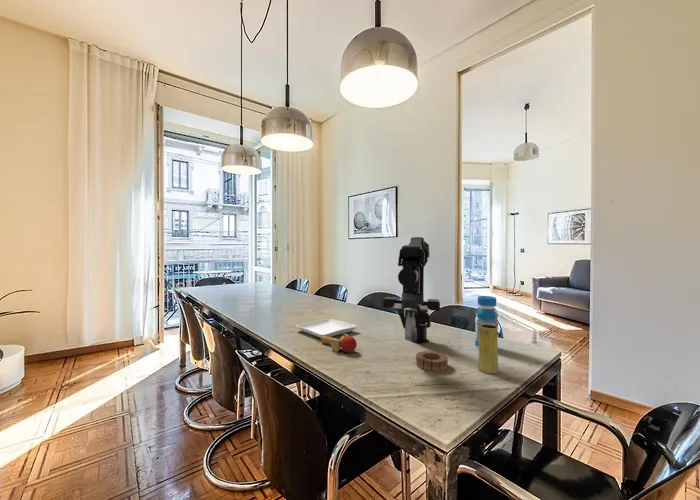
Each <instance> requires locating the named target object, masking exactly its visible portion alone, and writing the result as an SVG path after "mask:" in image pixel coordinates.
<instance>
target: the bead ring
mask: <svg viewBox="0 0 700 500" xmlns="http://www.w3.org/2000/svg"><path fill="white" fill-rule="evenodd" d="M448 360H449V359H448V356H447V355H446V354H443V353H441V352H438V351H433V350H432V351H431V350H428V351H427V350H424V351H423V350H422V351H418V352H417V353H416V354H415V366H417V368H419V369H421V370H424V371H428V372H443V371H446V370H447V369H448V367H449V365H448Z"/></svg>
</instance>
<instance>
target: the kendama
mask: <svg viewBox="0 0 700 500" xmlns="http://www.w3.org/2000/svg"><path fill="white" fill-rule="evenodd" d="M320 343H322V344H330V348H331V349H332V350H333V351H334V352H339V351H340V350H341V349H342V351H343V352H345V353H346V354H347V353H353V352H354V351H355V350H356V349H357V344H358V343H357V340H356V339H355V337H353V336H351V335H349V334H348V333H345V334H341V337H340V338H339V339H338V338H334V337H327V336H322V337H321V338H320Z"/></svg>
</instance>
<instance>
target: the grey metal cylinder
mask: <svg viewBox="0 0 700 500" xmlns="http://www.w3.org/2000/svg"><path fill="white" fill-rule="evenodd" d="M404 314H405V328H404V340H406V341H408V342H413V341H416V340H417V310H416V309H410V308H406V309H404Z"/></svg>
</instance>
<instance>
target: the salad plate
mask: <svg viewBox="0 0 700 500" xmlns="http://www.w3.org/2000/svg"><path fill="white" fill-rule="evenodd" d="M358 326H359V325H357V324H353V323H350V322H347V321H346V322H345V321H341V320H338V319H335V318H334V319H333V318H331V317H330V318H325V319H319V320H313V321H309V322H304V323H299V324H297V325H295V327H296V329H298V330H299V331H301V332H304V333H306V334H309V335H312V336H315V337H317V338H320V339H321V337H322V336H327V337H331V338H334V337H335V336H339V335H340V336H342V335H344V334H348V333H349V332H352V331H354V330H357V329H356V328H358Z"/></svg>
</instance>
